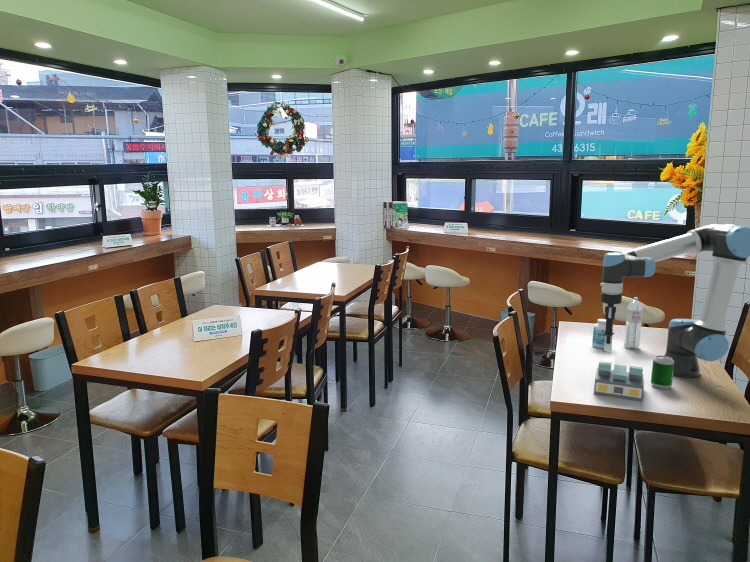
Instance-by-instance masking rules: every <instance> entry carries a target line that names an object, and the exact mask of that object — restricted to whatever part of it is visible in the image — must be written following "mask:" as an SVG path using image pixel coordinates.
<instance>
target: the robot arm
mask: <svg viewBox="0 0 750 562" xmlns="http://www.w3.org/2000/svg"><path fill="white" fill-rule="evenodd" d="M700 252H701V253H702V252H712V255H711V257H712V259H713V260H714V264H713V267H712V271H711V274H710V278H709V281H708V285H707V288H706V292H705V297H704V299H703V304H702V307H701V309H700V314H699V317H698V319H692V318H674V319H671V320H670V321H669V323H668V327H667V330H668V332H667V338H666V339H667V341H666V350H665V353H664V355H663V356H668V357H671V358H672V359H673V360H674V370H673V377H675V376H676V377H681V378H696V377H699V376H700V374H701V372H700V371H701V369H700V364H699V359H700V360H704V361H706V362H715V361H719V359H722V358H723V357H724V356H725V355H726V354H727V353H728V351H729V347H730V343H729V340H728V339H727V337H726V333H727V329H726V327H725V326H724V325H725V324H724V323H725V321H726V317H727V313H728V309H729V306H730V302H731V298H732V296H733V295H732V294H733V291H734V287H735V284H736V281H737V277H738V273H739V270H740V267H741V266H743V265H744V264H746V262H747V259H748V258H750V227H748V226H744V225H742V224H741V225H739V224H729V223H722V222H721V223H720V222H717V223H713V224H708V225H704V226H701V227H698V228H692V229H690V230H688V231H687V232H686V233H684V234H682V235H678V236H675V237H672V238H669V239H664V240H661V241H657V242H654V243H651V244H647V245H645V246H641V247H637V248H634V249H631V250H626V251H622V252H621V251H615V252H614V251H613V252H607V253H604V255H603V260H602V277H601V283H600V284H599V286H600V287H601V293H600V302H601V303H603V304H606V305H605V306H604V312H605V314H604V317H605V320H606V331H605V333H603V335H605V343H604V348H603V351H604V352H608V353H609V352H610V353H612V351H613V350H612V347H613V336H614V335H615V332H614V329H613V328H614V320H615V319H616V318H615V317H616V312H617V306H615V305H620V304H621V303H622V300H623V294H622V293H623V290H624V289H623V286H624V278H648V277H652V276H653V275H654V274H655V272H656V268H657V267H656V263H657V262H660V261H664V260H668V259H671V258H674V257H678V256H681V255H685V254H689V253H694V254H697V253H700Z"/></svg>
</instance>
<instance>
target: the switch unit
mask: <svg viewBox="0 0 750 562" xmlns="http://www.w3.org/2000/svg"><path fill="white" fill-rule="evenodd" d="M595 372H596V373H595V377H594V387H593V394H594V395H599V396H605V397H606V396H607V397H613V398H619V399H625V400H626V399H627V400H632V401H637V402H638V401H640V402H643V400H644V399H643V397H644V389H645V387H644V386H645V381H644V380H645V379H644V374H643V375H642V376H640V375H632V374H629V371H626V381H622V380H615V379H613V374H614V369H611V372H610V371H603V370H598V367H597V368H596V371H595Z"/></svg>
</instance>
